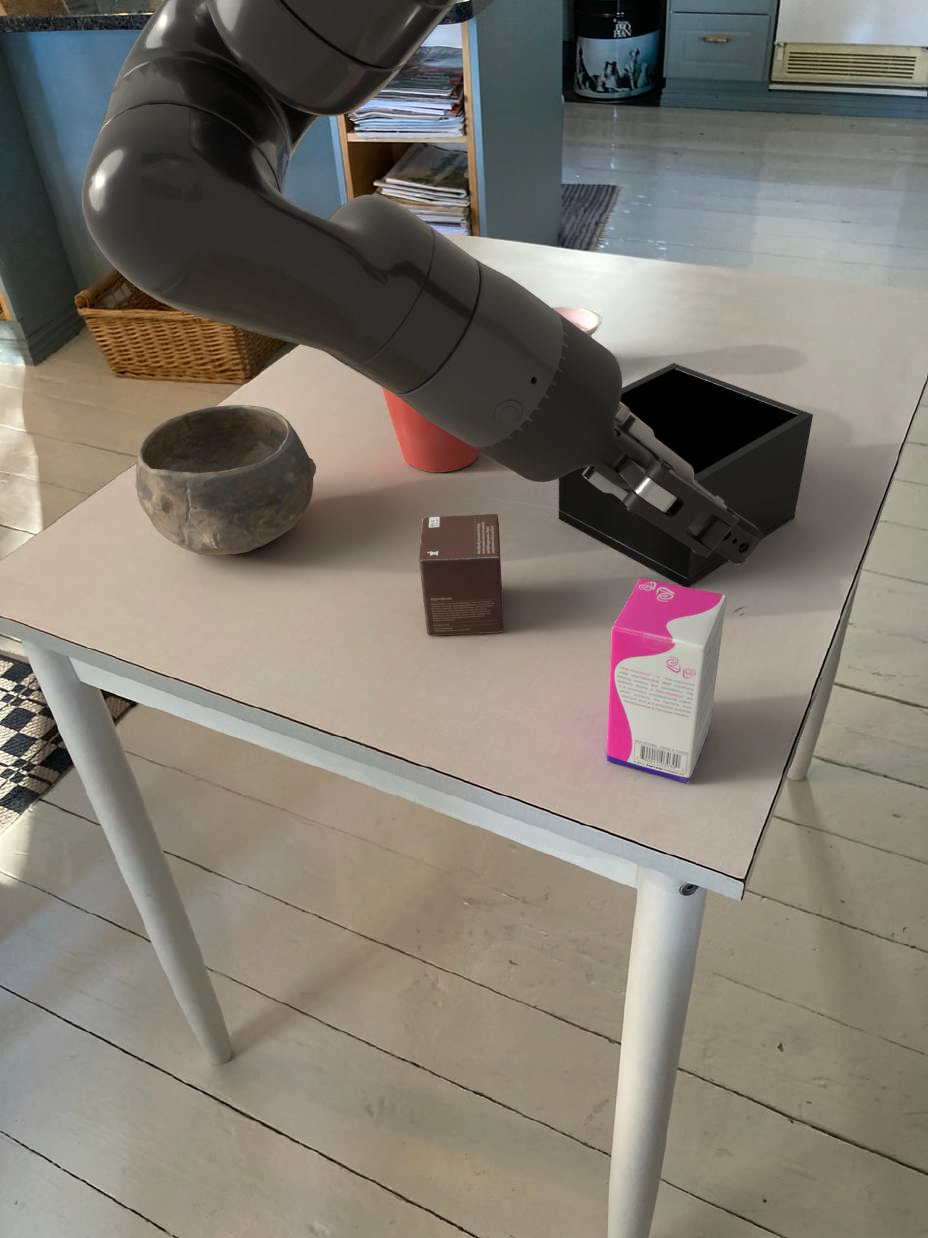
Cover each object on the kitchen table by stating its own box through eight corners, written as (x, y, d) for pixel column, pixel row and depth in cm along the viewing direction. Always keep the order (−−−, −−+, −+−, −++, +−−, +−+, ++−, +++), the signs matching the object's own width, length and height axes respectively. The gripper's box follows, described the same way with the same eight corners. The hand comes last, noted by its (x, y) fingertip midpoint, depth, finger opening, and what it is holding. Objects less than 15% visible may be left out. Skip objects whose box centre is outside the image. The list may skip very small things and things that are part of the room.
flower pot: (424, 419, 105) (416, 331, 99) (515, 441, 101) (513, 350, 94) (366, 465, 98) (354, 374, 92) (461, 491, 94) (455, 396, 88)
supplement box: (712, 725, 68) (730, 593, 61) (689, 786, 64) (706, 652, 57) (630, 704, 70) (639, 573, 63) (603, 761, 66) (609, 629, 59)
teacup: (608, 348, 117) (610, 296, 113) (623, 394, 107) (626, 339, 103) (506, 354, 117) (504, 303, 113) (512, 401, 107) (511, 346, 103)
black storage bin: (794, 517, 87) (813, 414, 81) (686, 588, 80) (697, 481, 74) (665, 459, 96) (673, 362, 90) (558, 519, 89) (558, 418, 83)
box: (503, 635, 77) (500, 557, 72) (426, 638, 77) (417, 561, 72) (502, 587, 82) (499, 512, 77) (429, 590, 82) (421, 515, 77)
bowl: (131, 533, 91) (100, 436, 85) (278, 474, 98) (259, 380, 92) (197, 604, 82) (167, 501, 76) (354, 533, 89) (339, 433, 83)
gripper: (616, 361, 41) (829, 518, 50) (498, 262, 52) (691, 406, 61) (508, 504, 43) (731, 630, 53) (417, 381, 54) (614, 503, 63)
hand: (709, 510), depth 57 cm, fingers open, 8 cm apart
